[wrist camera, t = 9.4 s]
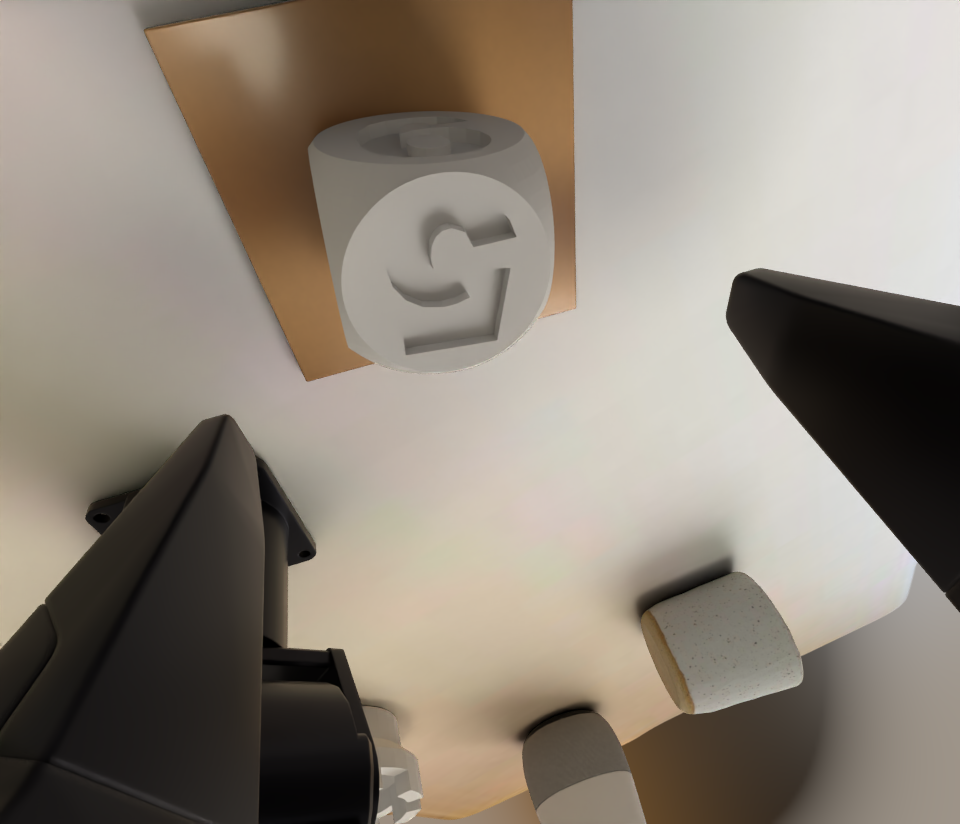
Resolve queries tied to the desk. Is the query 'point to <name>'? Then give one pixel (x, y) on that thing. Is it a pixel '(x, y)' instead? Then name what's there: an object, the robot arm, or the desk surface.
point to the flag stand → (394, 768)
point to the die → (434, 235)
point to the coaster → (353, 95)
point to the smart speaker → (579, 772)
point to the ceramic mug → (721, 645)
